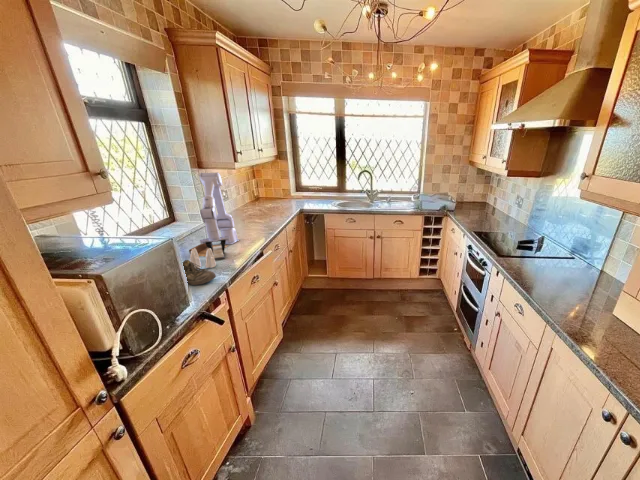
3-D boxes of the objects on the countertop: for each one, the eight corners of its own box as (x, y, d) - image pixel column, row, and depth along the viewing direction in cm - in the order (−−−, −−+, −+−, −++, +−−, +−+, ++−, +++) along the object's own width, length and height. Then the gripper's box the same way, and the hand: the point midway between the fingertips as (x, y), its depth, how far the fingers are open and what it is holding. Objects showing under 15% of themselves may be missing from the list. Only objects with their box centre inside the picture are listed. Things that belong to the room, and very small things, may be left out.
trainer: (214, 254, 177) (212, 246, 175) (224, 252, 179) (222, 245, 177) (214, 260, 168) (212, 252, 166) (224, 258, 170) (222, 250, 168)
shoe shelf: (210, 245, 193) (209, 239, 191) (229, 245, 192) (227, 239, 190) (190, 256, 175) (188, 249, 173) (210, 256, 174) (209, 250, 172)
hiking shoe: (207, 282, 136) (206, 256, 137) (163, 287, 137) (162, 260, 138) (220, 284, 145) (219, 259, 146) (178, 288, 147) (177, 263, 148)
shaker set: (191, 272, 153) (184, 251, 148) (190, 269, 156) (183, 249, 151) (217, 267, 159) (212, 246, 154) (216, 264, 162) (210, 244, 157)
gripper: (197, 234, 161) (204, 258, 167) (227, 230, 167) (233, 254, 173) (197, 230, 167) (204, 254, 173) (227, 227, 173) (232, 250, 178)
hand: (218, 254), depth 173 cm, fingers closed on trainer, 4 cm apart
